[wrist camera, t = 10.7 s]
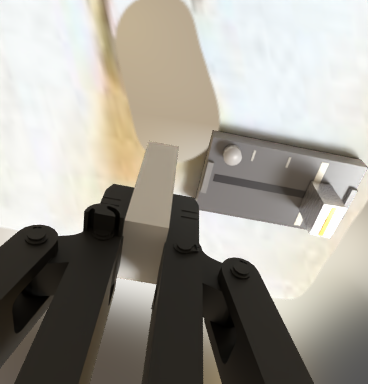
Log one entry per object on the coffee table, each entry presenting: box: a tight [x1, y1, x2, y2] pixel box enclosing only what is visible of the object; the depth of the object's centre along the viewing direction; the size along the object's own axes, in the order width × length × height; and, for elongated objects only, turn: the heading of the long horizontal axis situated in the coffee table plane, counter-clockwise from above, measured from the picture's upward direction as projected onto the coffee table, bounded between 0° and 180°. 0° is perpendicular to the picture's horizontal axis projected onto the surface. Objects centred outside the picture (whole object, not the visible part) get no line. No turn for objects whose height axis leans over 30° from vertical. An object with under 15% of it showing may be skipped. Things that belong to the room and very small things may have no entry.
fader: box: [299, 181, 346, 238], centre depth 48 cm, size 5×3×6 cm, turn 169°
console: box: [195, 130, 368, 230], centre depth 51 cm, size 12×22×4 cm, turn 79°
